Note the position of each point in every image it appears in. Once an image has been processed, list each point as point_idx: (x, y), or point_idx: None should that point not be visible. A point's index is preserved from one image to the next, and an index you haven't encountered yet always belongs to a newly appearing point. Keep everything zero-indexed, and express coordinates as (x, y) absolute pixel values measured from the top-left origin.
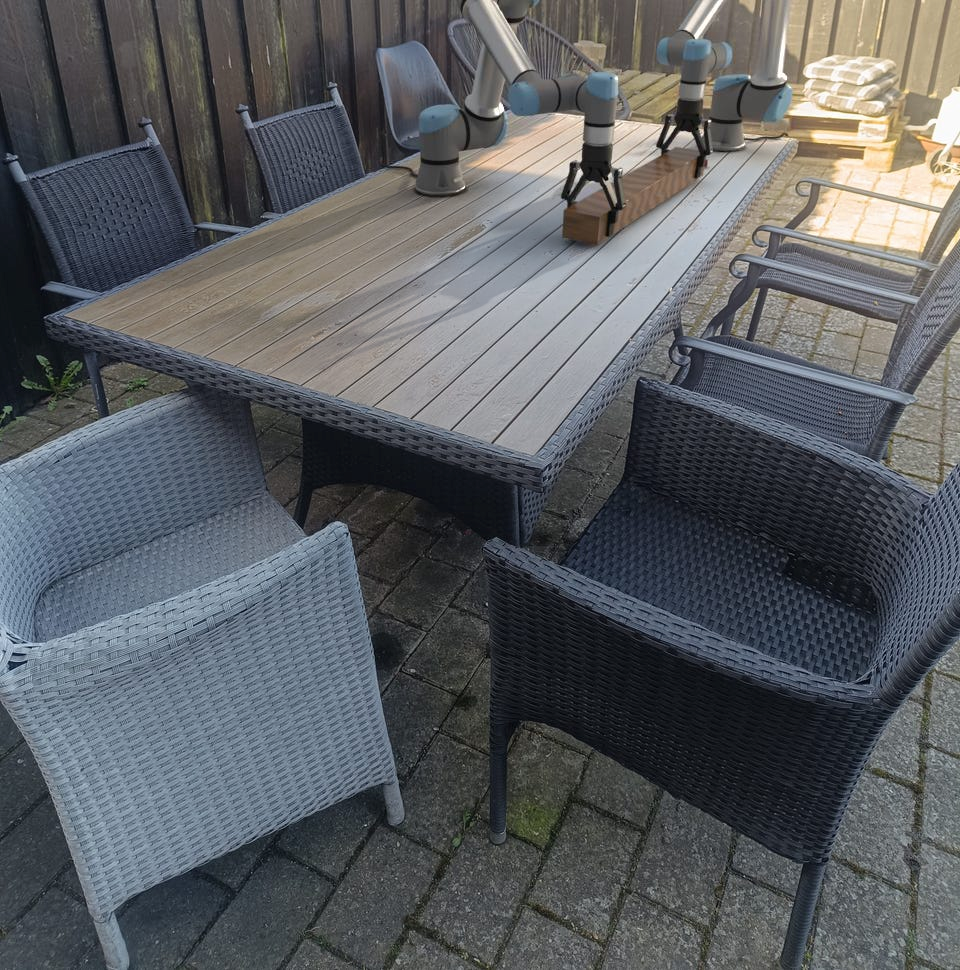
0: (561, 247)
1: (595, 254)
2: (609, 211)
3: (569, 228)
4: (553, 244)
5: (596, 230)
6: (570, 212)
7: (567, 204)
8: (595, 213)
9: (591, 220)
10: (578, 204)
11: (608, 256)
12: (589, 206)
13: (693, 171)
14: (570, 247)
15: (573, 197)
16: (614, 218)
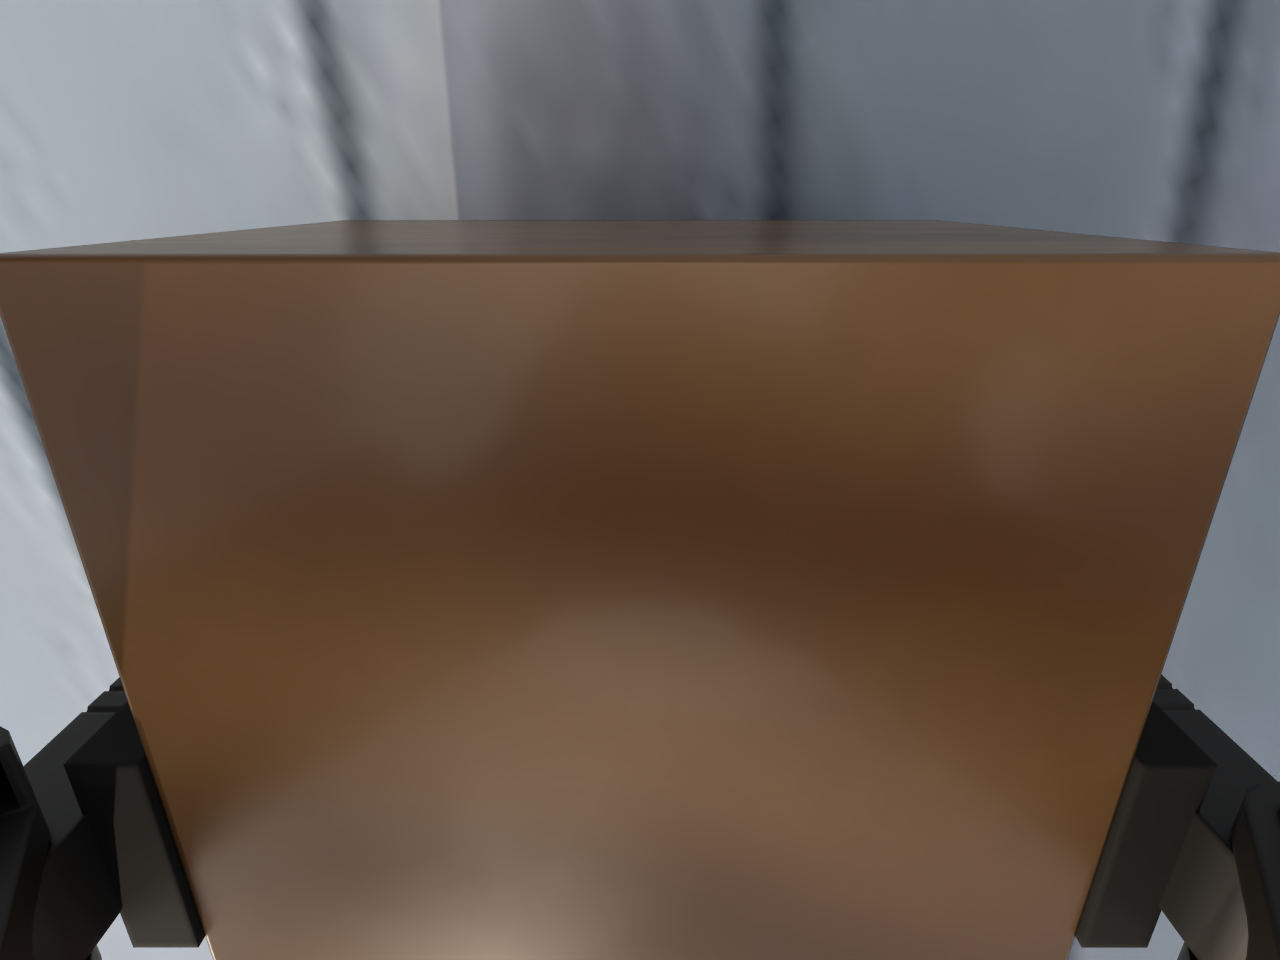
0: (855, 77)
1: (319, 91)
2: (110, 764)
3: (870, 227)
4: (1002, 128)
5: (271, 230)
6: (1024, 250)
7: (1263, 772)
8: (287, 470)
9: (328, 242)
10: (1005, 828)
11: (139, 123)
12: (714, 835)
13: None
14: (742, 154)
15: (1278, 939)
16: (118, 703)
